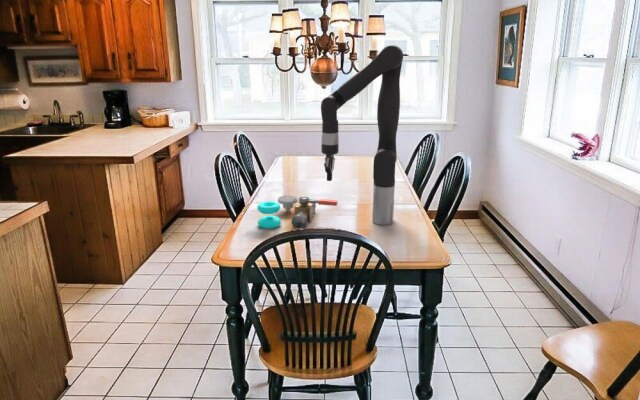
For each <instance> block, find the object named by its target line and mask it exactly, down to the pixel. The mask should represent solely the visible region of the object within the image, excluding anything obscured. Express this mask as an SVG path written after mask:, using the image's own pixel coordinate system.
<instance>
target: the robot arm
mask: <svg viewBox="0 0 640 400" xmlns="http://www.w3.org/2000/svg"><path fill="white" fill-rule="evenodd" d="M403 60H404V52H403V50H402V49H401V47H399V45H397V44H396V45H395V44H390V45H386V46H384V47H383V48H382V49H381V51H380V52H379V53H378V54H377V56H375V57H374V59H372V61H371V62H369V63H368V64H367V65H366V66H365V67H364V68H363V69H361V70H359V71H358V72H357V73H356V74H354V75H353V76H351V77H350V78H349V79H348V80H346V81H345V82H343V83H342V84H341V85H340V86H339V87H338V88H337V89H336V90H335V91H333V93H330V94H329V95H327V96H326V97H324V98H323V99H322V100H321V103H320V113H321V121H322V125H321V127H322V129H321V146H320V147H321V148H320V149H321V150H320V151H321V153H322V154H324V155H325V157H324V163H323V165H324V172H325V173H326V181H327V182H331V181H333V172H334V169H335V161H336V156H335V155H337V154H339V150H340V149H339V146H340V145H339V142H340V141H339V139H340V138H339V121H338V115H337V114H338V110H339V109H340V108H342V107H343V106H344V105H345V104H346V103H347V102H349V101H351V100H352V99H354V97H356V96H357V95H358V94H360V93H361V92H363V91H364V89H366V88H367V87H369V85H370V84H371V83H373V82H374V81H375V80H376V79H377V78H378V77H380V76H381V85H380V89H379V93H378V100H377V107H376V108H377V109H376V110H377V112H376V114H377V115H376V116H377V117H376V120H377V127H378V143H377V148H376V149H377V150H376V153H375V155H374V156H373V168H372V169H373V172H372V173H373V175H372V179H373V188H372V189H373V193H372V214H371V215H372V217H371V218H372V220H371V221H372V223H374V224H376V225H381V226H386V225H387V226H388V225H393V223H394V211H395V187H396V177H395V176H396V162H397V159H398V158H397V155H398V154H397V132H398V126H399V120H400V108H401V87H400V86H401V85H400V84H401V82H400V81H401V70H402V64H403Z"/></svg>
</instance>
